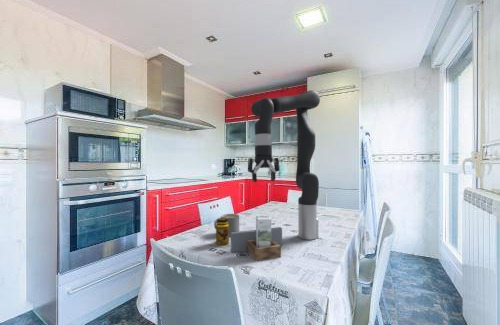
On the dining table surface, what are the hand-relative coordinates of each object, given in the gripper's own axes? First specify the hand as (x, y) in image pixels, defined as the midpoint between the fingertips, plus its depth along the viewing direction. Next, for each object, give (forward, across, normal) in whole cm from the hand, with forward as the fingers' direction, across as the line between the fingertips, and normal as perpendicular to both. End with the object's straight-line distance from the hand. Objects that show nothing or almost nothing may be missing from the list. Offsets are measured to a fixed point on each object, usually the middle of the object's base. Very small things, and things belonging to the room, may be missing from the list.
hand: (264, 181), depth 99 cm
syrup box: (+29, -3, -4) cm, 30 cm away
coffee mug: (+30, -10, +28) cm, 42 cm away
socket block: (+30, -3, -4) cm, 30 cm away
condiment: (+30, -16, +15) cm, 37 cm away
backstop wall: (+30, -3, +3) cm, 30 cm away
